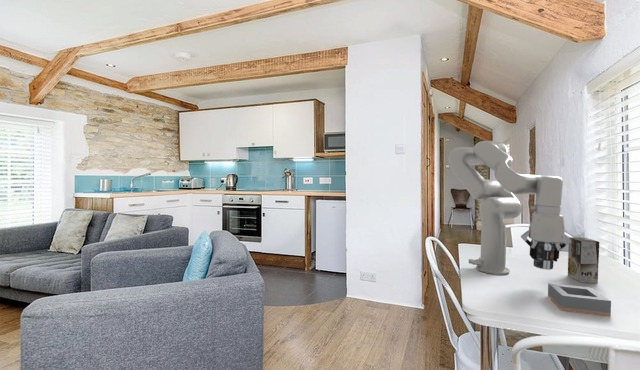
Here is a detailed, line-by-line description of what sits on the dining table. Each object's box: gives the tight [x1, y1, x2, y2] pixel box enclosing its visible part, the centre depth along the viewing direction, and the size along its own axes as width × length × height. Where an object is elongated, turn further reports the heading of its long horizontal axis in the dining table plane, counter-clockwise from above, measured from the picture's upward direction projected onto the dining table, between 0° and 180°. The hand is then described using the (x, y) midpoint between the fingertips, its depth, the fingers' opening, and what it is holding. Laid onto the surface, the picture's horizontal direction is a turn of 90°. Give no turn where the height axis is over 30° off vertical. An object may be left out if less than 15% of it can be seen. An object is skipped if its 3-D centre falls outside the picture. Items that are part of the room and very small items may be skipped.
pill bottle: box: [533, 242, 555, 271], centre depth 118 cm, size 6×6×11 cm
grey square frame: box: [547, 282, 612, 317], centre depth 102 cm, size 12×12×4 cm
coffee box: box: [567, 236, 600, 284], centre depth 129 cm, size 9×6×16 cm
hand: (543, 258), depth 118 cm, fingers closed on pill bottle, 6 cm apart
